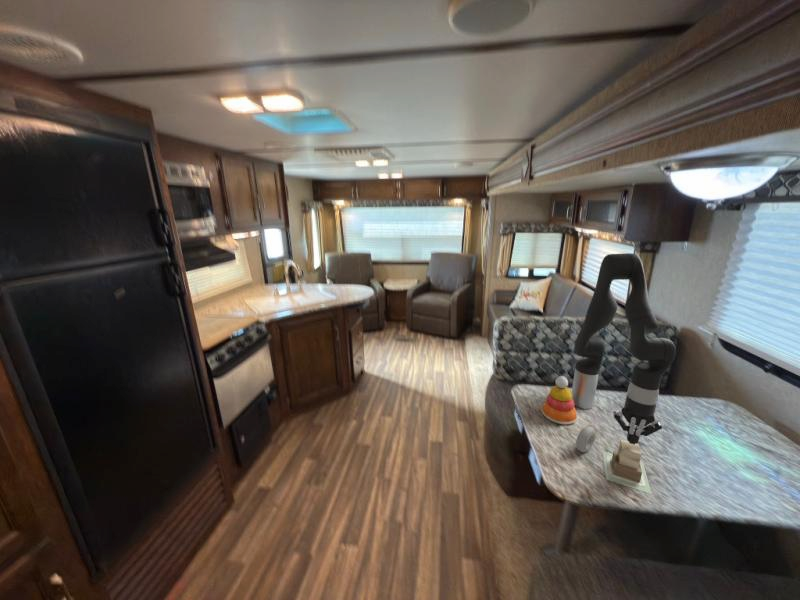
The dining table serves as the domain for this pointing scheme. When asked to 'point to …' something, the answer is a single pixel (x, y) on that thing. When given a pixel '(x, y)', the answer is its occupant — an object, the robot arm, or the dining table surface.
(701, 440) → the dining table surface
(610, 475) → the build board
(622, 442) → the maple block
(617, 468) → the walnut block
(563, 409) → the stacking toy
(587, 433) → the donut
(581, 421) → the dining table surface
